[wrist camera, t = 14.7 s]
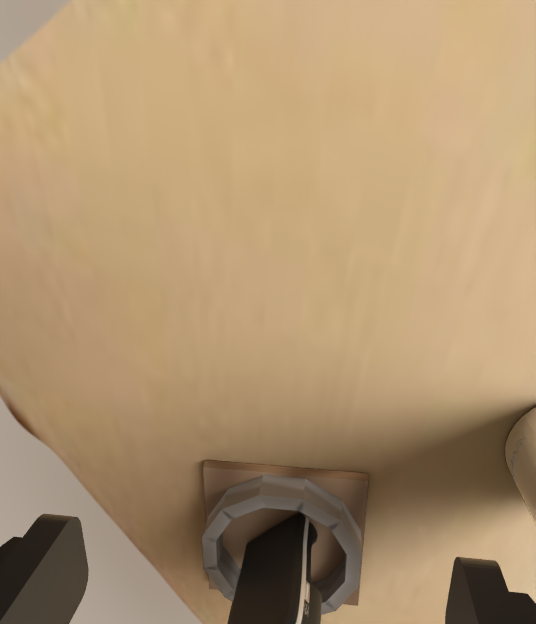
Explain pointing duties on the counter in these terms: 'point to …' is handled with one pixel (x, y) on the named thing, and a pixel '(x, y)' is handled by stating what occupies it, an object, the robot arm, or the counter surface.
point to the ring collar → (277, 508)
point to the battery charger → (278, 577)
